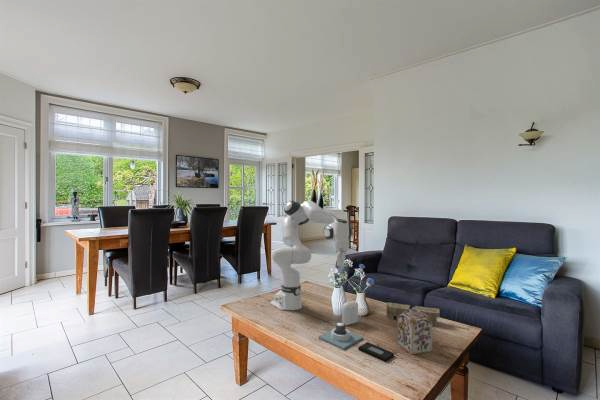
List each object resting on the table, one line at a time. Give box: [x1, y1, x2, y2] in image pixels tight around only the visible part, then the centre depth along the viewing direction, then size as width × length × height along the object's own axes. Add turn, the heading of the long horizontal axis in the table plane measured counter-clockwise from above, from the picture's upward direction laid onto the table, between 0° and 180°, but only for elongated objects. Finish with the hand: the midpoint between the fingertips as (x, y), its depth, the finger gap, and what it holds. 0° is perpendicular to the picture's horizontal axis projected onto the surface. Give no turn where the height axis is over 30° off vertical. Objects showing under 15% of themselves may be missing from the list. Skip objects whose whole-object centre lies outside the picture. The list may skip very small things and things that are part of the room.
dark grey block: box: [335, 322, 346, 335], centre depth 152 cm, size 5×5×6 cm
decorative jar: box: [396, 308, 433, 355], centre depth 144 cm, size 12×12×18 cm
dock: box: [318, 327, 364, 351], centre depth 152 cm, size 16×16×4 cm
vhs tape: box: [357, 341, 395, 363], centre depth 138 cm, size 8×14×2 cm, turn 44°
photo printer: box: [341, 300, 359, 326], centre depth 171 cm, size 10×4×12 cm, turn 123°
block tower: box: [385, 302, 441, 327], centre depth 176 cm, size 8×8×29 cm
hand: (341, 270), depth 175 cm, fingers open, 8 cm apart
